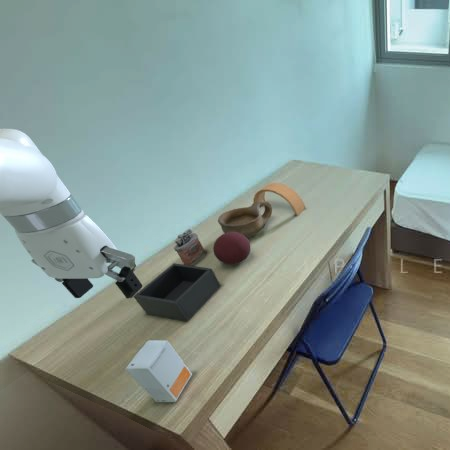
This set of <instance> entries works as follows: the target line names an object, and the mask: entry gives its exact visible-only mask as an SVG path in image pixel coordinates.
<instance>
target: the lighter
mask: <svg viewBox="0 0 450 450" xmlns="http://www.w3.org/2000/svg"><path fill="white" fill-rule="evenodd" d="M174 243H175V246H174V247H173V249H174V251H175V252H176V253H177V255H178V257H179V259H180V260H181V262H182V263H183V265H190V266H196V265H197V264H198V263H199V262H201V260H202V259H203V258H205V256H206V254H207V251H206V250H205V249H204V247H203V245H202V243H201V241H200V239H199V236H198V234H197V233H195V232H193V229H192V228H188V229H186V230H185V231H184V232H183V233H182V234H181V233H179V234H178V235H177V238H175V239H174Z"/></svg>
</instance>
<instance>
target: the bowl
mask: <svg viewBox="0 0 450 450" xmlns="http://www.w3.org/2000/svg"><path fill="white" fill-rule="evenodd" d="M261 207H264V212H263V214H262V213H261V209H260V208H261ZM272 214H273V207H272V205H271V204H270V203H269V202H267V201H266V200H265V201H262V200H259V201H255V202H254V203H253V202H252V204H251V205H250V206H248V207H247V206H245V207H238V208H233V209H231V210H228V211H225V212H223V213H221V214H220V215H219V217H218V219H217V223H218V224H219V225H220V228H221V230H222V232H223V234H225V233H228V232H237V233H240V234H242V235H244V236H245V237H246V238H247V239H248V238H250V237H254V236H255V235H257V234H259V232H261V231H262V230H263V229H264V227H265V225H266V223H267V222H268V221H269V219H270V218H271V217H272Z"/></svg>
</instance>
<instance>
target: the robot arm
mask: <svg viewBox="0 0 450 450" xmlns="http://www.w3.org/2000/svg"><path fill="white" fill-rule="evenodd" d="M53 165H54V164H52V162H51V161H50V160H49V159H48V158H47V157H46V156H45V155H44V154H43V153H42V152H41V150H40V149H39V148H38V147H37V145H36V144H35V142H34V141H33V140H32V139H31V138H30V136H29V135H27V134H26V133H25V132H23V131H22V130H19V129H16V128H0V215H1V216H2V217H3V218H4V219H5V221H7V222H8V223H9V224H10V225H11V227H12V228H13V229H14V231H15V234H16V237H17V238H18V240H19V241H20V243H21V245H22V246H23V248H24V249H25V251H27V253H28V254H29V256H30V257H31V258H32V259H31V260H30V261H31V262H32V264H34V265H36V266H37V267H39V268H40V269H41V270H42V271H43V273H45V274H46V275H47V276H48V278H49V277H50V278H53V279H54V280H55V281H56V282H58V283H61V284H62V286H64V288H65V289H66V290H67V291H68V292H69V293H70V294H71V295H72V296H73V298H75V299H80V298H82V297H83V296H84V295H86V294H87V293H88V292H89V291H90V290H92V289H93V288H94V285H93V283H92V281H90V279H100V278H102V277H104V276H105V275H106V276H107V277H109V278H111V279H113V280H115V282H114V284H115V285H116V286H117V288H118V289H119V291H120V292H121V294H123V295H124V297H125V298H126V299H132V298H134V297H133V296H134V295H136V294H137V293H138V292H139V291H141V290H142V289H143V283H142V282H141V281H140V280H139V278H138V277H137V275H136V274H135V270H136V267H137V264H136V257H135V256H134V255H133V254H132V253H131V254H130V253H128V252H125V251H122V250H118V248H117V247H116V245H115V244H114V243H113V242H112V240H111V239H110V238H109V237H108V235H106V234H105V232H104V231H103V230H102V228H101V227H99V225H98V224H97V223H95V221H94V220H93V219H91V218H90V217H89V215H87V214H86V213H84V210H83V208H81V206H80V204H79V203H78V202H77V199H75V197H74V196H73V195H72V194H71V192H70V190H68V188H67V187H66V185H65V184H64V182H63V181H62V179H61V178H60V177H59V175H58V174H57V171H56V169H55V167H54V166H53ZM108 264H109V265H108ZM115 267H117V268H118V269H119V268H120V271H119V272H117V271H115V270H113V269H114V268H115Z"/></svg>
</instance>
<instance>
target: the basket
mask: <svg viewBox="0 0 450 450" xmlns="http://www.w3.org/2000/svg"><path fill="white" fill-rule="evenodd" d="M221 287H222V285H221V284H220V281H219V279H218V278H217V275H216V274H215V272H214V270H213V268H211V267H203V266H196V265H194V266H190V265H184V263H183V264H182V263H177V262H176V263H175V262H174V263H172V264H171V265H169V266H168V267H167V268H166V269H165V270H164V271H162V272H161V273H160V274H158V275H157V276H156V277H154V279H152V280H151V281H150V282H149V283H148V284H147V285H145V286H144V287H142V288H141V289H140V290H139V291H138V292H137V293H136V294H135V295H134V296H133V297H132V298H134V299H135V301H136V303H138V305H139V306H140V307H141V308H142V310H143V312H144V313H145V314H146V315H148V316H153V317H160V318H165V319H170V320H175V321H181V322H185V323H188V322H189V321H190V319H192V317H194V315H195V314H196V313H197V312H198V311H199V310H200V309H201V308H202V307H203V306H204V305H205V304H206V302H208V301H209V300H210V298H212V296H213V295H214V294H215V293H216V292H217V291H218V290H219V289H220V288H221Z"/></svg>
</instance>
